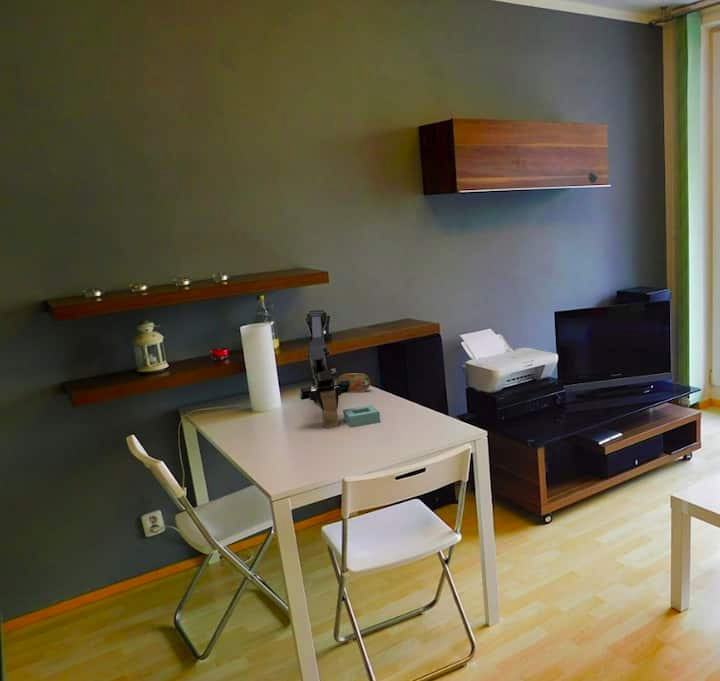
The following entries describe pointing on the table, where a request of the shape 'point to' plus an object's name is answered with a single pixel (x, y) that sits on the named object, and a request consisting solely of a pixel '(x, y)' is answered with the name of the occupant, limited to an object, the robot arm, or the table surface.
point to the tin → (356, 382)
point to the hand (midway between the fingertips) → (330, 408)
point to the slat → (329, 409)
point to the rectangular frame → (361, 416)
